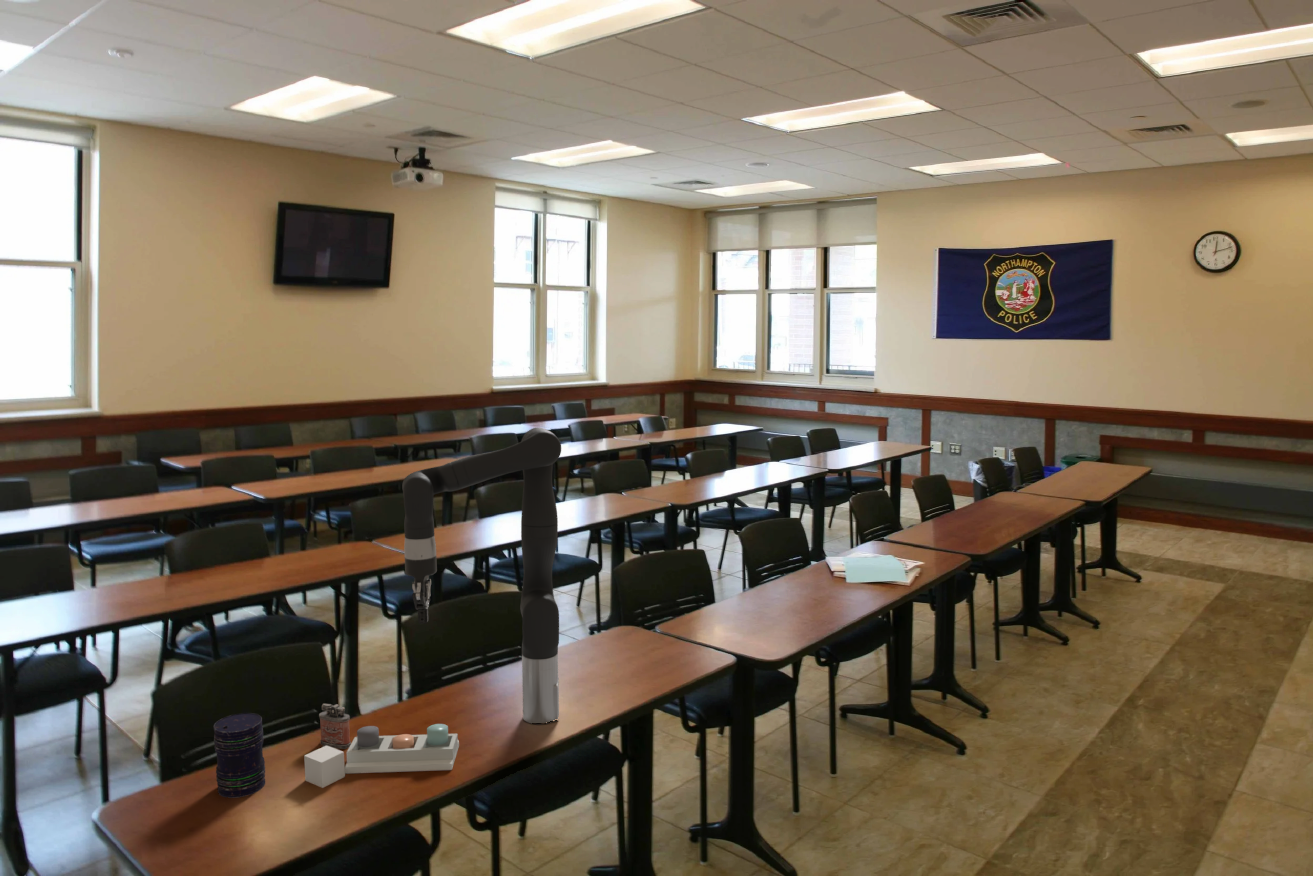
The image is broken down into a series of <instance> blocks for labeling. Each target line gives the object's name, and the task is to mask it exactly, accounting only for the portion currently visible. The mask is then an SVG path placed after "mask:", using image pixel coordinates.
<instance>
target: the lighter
mask: <svg viewBox="0 0 1313 876" xmlns="http://www.w3.org/2000/svg"><path fill="white" fill-rule="evenodd" d="M321 710H322V712H320V713H319V714H318V717H319V720H320V721H319V722H320V724H319V725H320V740H319V741H320V743H319V744H320V745H322V747H324V746H326V745H327V746H330V747H332V748H335V749H338V750H340V749H343V750H345V749H349V747H350V745H351V743H352V742H351V739H350V737H351V734H350V719H351V716H350V714H347V713H345V710H346V708H345V707H344V706H340V704H337V703H336V704H334V705H333V704H331V703H322V705H321Z"/></svg>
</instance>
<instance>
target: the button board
mask: <svg viewBox="0 0 1313 876" xmlns="http://www.w3.org/2000/svg"><path fill="white" fill-rule="evenodd" d="M398 735H399V734H398ZM398 735H379V743H378V744H377V745H375V746H372V747H360V746H358V743H357V736H354V738H353V740H352V742H351V745H350V747H349V748H347V750H346V764H345V765H344V767H345V775H346V774H369V773H397V772H399V773H400V772H401V773H402V772H429V771H452V770H453V767H454V764H455V760H456V757H457V755H458V750H459V747H460V741H459V739H458V733H448V741H447V742H446V743H444V744H441V745H431V744H429V743H428V742H427V734H411V735H412V736H413V737H414V748H405V749H393V741H392V740H393V738H394V737H396V736H398Z"/></svg>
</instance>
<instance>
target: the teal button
mask: <svg viewBox="0 0 1313 876" xmlns="http://www.w3.org/2000/svg"><path fill="white" fill-rule="evenodd" d="M448 734H449V726H448V725H446V724H444V723H435V724H432V725H430V726H429V725H428V727H427V728H426V735H427V742H428V743H429V744H431V745H441V744H444V743H446V742H447V741H448Z"/></svg>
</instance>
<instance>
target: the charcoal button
mask: <svg viewBox="0 0 1313 876" xmlns="http://www.w3.org/2000/svg"><path fill="white" fill-rule="evenodd" d="M379 736H380V731H379V727H378V726H376V725H367V726H366V725H365V726H362V727H361V728H359V729H357V731H356V737H357V743H358V746H360V747H372V746H375V745H377V744H378V743H379Z"/></svg>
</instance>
